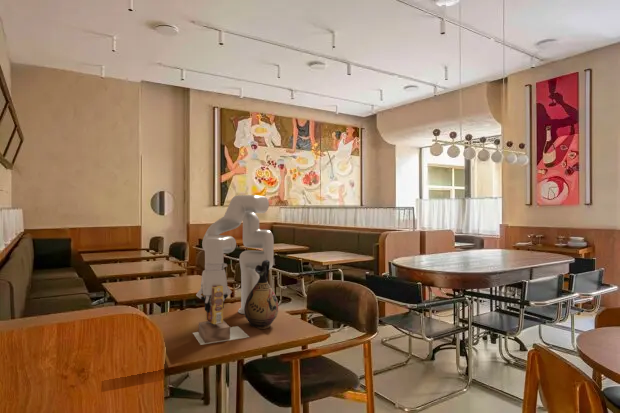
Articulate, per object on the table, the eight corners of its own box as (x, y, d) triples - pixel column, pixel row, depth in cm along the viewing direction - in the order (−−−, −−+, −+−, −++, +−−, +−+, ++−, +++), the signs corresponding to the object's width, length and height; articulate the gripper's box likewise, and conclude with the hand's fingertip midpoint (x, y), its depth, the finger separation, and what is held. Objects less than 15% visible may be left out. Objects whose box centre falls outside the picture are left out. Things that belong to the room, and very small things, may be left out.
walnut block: (222, 330, 172) (222, 319, 172) (230, 339, 161) (230, 326, 161) (198, 334, 167) (198, 322, 167) (205, 343, 157) (205, 330, 157)
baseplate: (238, 328, 178) (238, 326, 178) (249, 339, 164) (249, 336, 164) (192, 335, 169) (192, 332, 169) (200, 347, 155) (200, 344, 155)
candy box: (224, 322, 162) (223, 285, 162) (214, 325, 160) (213, 287, 159) (214, 317, 169) (214, 282, 169) (205, 319, 167) (204, 283, 166)
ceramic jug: (272, 332, 173) (272, 264, 172) (239, 330, 176) (239, 262, 175) (283, 321, 189) (283, 258, 189) (252, 319, 192) (252, 257, 192)
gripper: (231, 264, 171) (231, 306, 172) (191, 267, 164) (191, 311, 164) (236, 267, 165) (236, 310, 165) (195, 270, 157) (195, 316, 157)
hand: (214, 310), depth 164 cm, fingers closed on candy box, 4 cm apart
